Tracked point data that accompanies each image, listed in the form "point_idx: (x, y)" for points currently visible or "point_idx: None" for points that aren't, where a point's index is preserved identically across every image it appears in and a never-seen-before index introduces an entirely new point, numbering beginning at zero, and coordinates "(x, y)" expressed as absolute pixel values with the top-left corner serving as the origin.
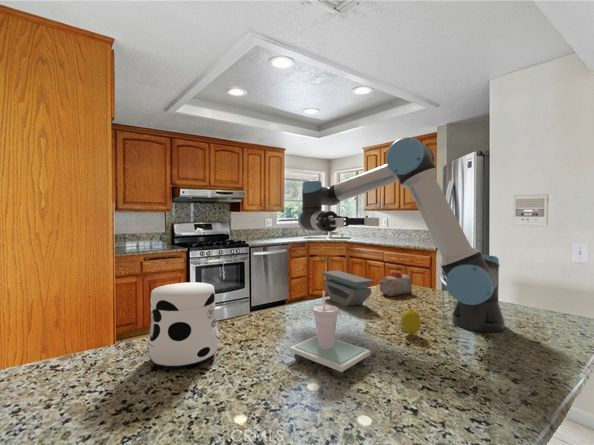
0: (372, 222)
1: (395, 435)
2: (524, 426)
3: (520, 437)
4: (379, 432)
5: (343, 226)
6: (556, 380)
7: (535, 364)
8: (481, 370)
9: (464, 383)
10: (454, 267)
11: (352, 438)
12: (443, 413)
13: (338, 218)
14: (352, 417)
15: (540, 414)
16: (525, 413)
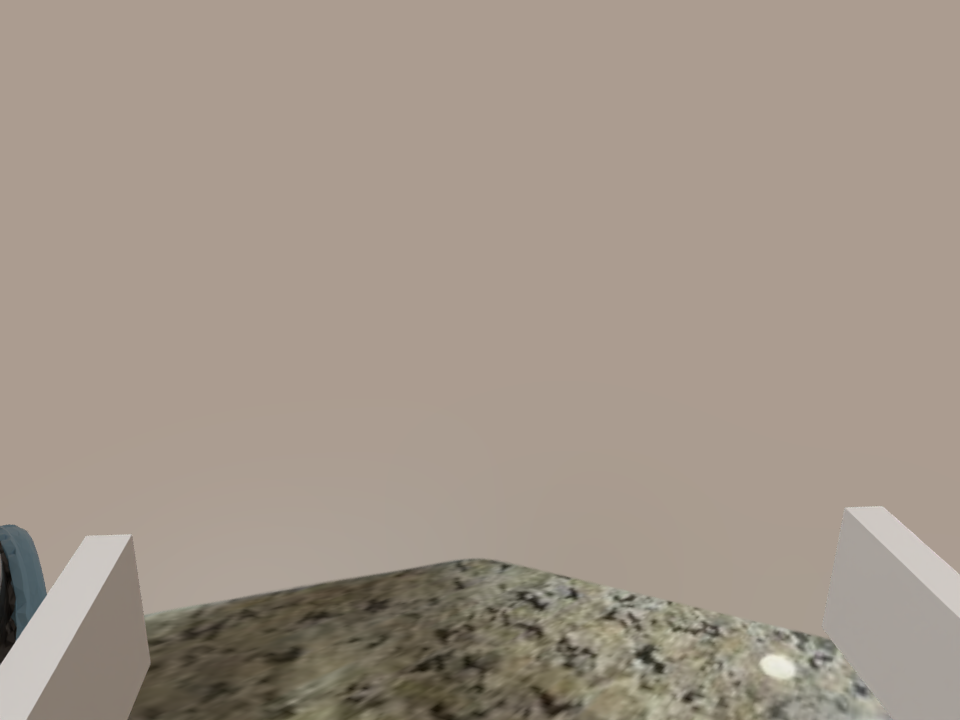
0: (97, 707)
1: (725, 621)
2: (463, 573)
3: (500, 563)
4: (755, 634)
5: (830, 617)
6: (191, 627)
7: None
8: (304, 715)
9: (428, 687)
10: (7, 600)
11: (818, 638)
12: (584, 632)
13: (941, 562)
14: (805, 679)
15: (395, 580)
16: (419, 589)
